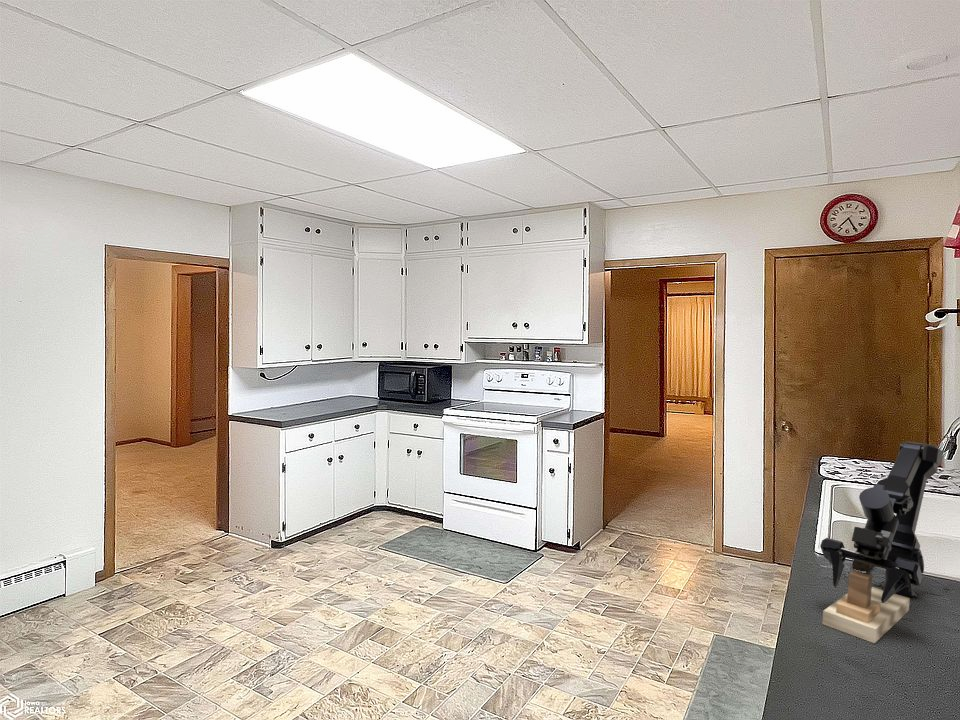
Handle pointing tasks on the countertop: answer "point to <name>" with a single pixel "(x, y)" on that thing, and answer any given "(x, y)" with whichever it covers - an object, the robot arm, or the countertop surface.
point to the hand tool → (861, 566)
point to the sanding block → (859, 598)
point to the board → (877, 626)
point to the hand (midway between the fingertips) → (857, 593)
